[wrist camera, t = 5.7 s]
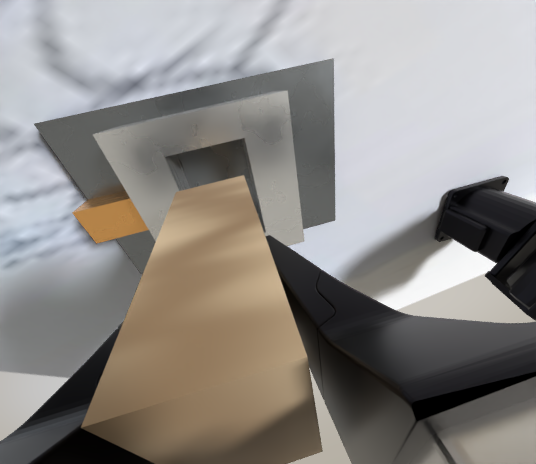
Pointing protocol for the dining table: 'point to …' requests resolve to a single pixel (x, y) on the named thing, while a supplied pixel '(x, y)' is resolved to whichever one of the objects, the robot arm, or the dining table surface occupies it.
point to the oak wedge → (209, 346)
